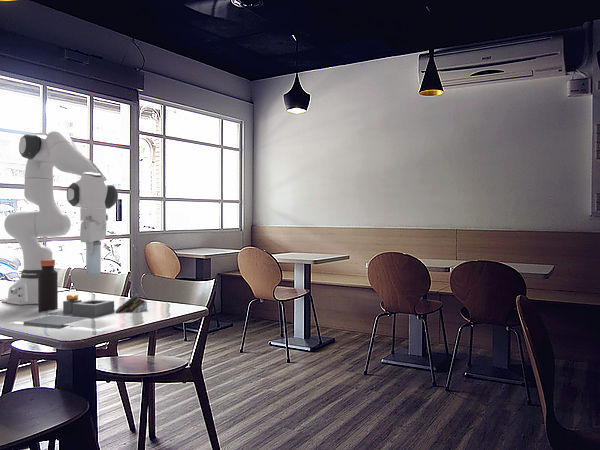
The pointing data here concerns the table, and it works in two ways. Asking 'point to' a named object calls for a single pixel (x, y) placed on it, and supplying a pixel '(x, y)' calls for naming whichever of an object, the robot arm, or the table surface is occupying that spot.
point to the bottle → (47, 286)
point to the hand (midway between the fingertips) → (93, 253)
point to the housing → (86, 308)
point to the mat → (52, 321)
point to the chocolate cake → (133, 305)
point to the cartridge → (94, 259)
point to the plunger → (72, 297)
